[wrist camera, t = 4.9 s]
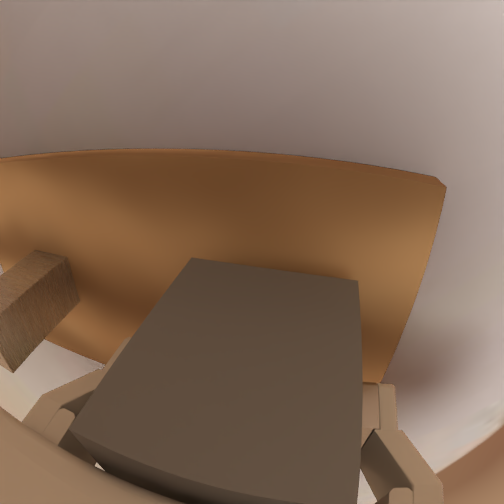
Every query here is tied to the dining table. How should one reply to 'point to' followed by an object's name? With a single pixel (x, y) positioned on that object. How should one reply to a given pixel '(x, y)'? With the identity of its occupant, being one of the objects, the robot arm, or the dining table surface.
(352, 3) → the dining table surface
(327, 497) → the gray rectangular block
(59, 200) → the board
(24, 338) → the post
